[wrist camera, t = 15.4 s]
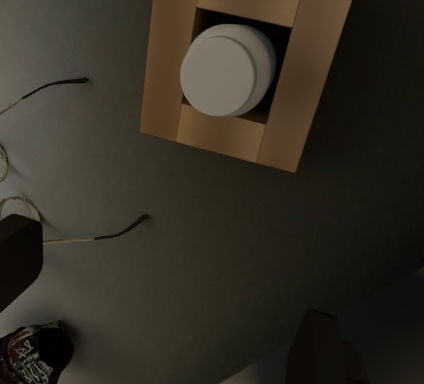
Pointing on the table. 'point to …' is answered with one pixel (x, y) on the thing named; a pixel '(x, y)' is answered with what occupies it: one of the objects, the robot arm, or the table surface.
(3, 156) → the eyeglasses
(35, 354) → the crumpled patterned cloth
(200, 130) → the frame
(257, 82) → the pill bottle
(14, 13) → the table surface
